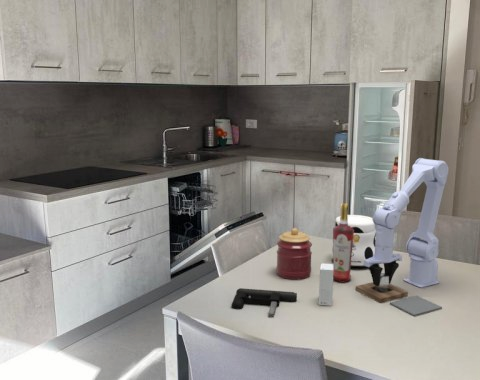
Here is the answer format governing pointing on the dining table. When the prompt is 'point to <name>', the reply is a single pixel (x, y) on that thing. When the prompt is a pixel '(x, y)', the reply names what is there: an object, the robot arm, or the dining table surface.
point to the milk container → (361, 238)
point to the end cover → (383, 283)
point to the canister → (294, 255)
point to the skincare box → (326, 284)
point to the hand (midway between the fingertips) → (381, 283)
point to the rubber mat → (415, 305)
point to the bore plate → (381, 297)
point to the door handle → (262, 298)
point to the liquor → (342, 247)
